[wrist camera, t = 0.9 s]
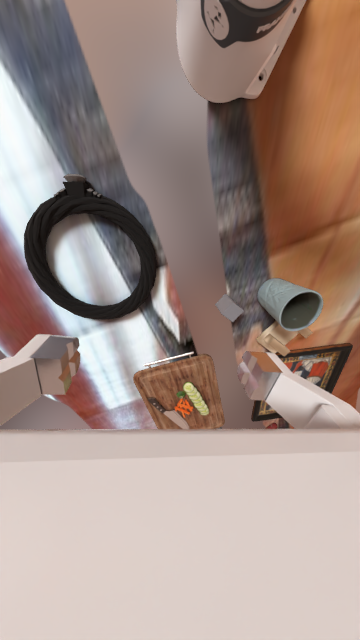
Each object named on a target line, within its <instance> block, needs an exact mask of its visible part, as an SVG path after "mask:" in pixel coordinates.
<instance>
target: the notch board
mask: <svg viewBox="0 0 360 640" xmlns="http://www.w3.org/2000/svg"><path fill="white" fill-rule="evenodd" d="M298 333H300V334H301V335H302V336H303V337H305V338H307V337H308V336H309V335H311V334H312V333H313V332H312V331H310V330H309V329H308V328H307V327H306V328H304V329H302V330H299V331H288V330H285V329H283V328H282V327H281V326H280V324H279V323H278V322H277V321H275V322H274V323H273V324H272V325H271V326H270V327H268V328H267V329H266V330H265V331H264V332H263V333H262V334H261V335H260V336H259V337H258V338H257V339H256V340H257V341H258V342H259V343H260V344H261V345H262V346H264V347H265V348H267V349H268V350H269V351H271V352H272V353H274V354H275V353H276V352H277V351H278V352H279V353H280V354H282V355H283V356H285V355H287V354H288V353H289V352H290V350H289V349H288V348H287V347H286V346H285V345H286V344H287V343H288V342H289V341H290V340H291V339H293V338H294V337H295V336H296V335H297V334H298Z"/></svg>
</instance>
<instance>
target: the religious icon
mask: <svg viewBox="0 0 360 640" xmlns="http://www.w3.org/2000/svg"><path fill="white" fill-rule="evenodd" d="M352 347H353V345H352V344H350V343H344V344H337V345H329V346H320V347H313V348H305V349H297V350H290V352H289V353H288V354H287V355H285V356H283V355H282V354H280V353H279V352H276V353H275V354H276V355H277V356H278V358H279V359H280V360H281V361H282V362H283V363H284V364H285V365H286V366H287V367H288V369H289V370H290V371H291V372H292V373H293V374H297V375H299V376H300V377H302V378H304V379H306V380H307V381H309V382H311V383H313V384H314V385H316V386H318V387H320V388H321V389H323V390H325V391H327V392H328V393H330V394H331V393H332V391H333V389H334V387H335V385H336V382H337V380H338V378H339V376H340V374H341V371H342V369H343V367H344V365H345V363H346V361H347V359H348V356H349V354H350V352H351V350H352ZM275 418H282V416H281V415H280V414H278V413H277V412H276V411H275V410H274V409H273V408H272V407H271V406H270V405H269V404H268V403H267V402H265V401H263V400H255V401H254V406H253V411H252V418H251V419H252V421H262V420H268V419H275Z"/></svg>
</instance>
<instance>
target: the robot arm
mask: <svg viewBox="0 0 360 640" xmlns="http://www.w3.org/2000/svg"><path fill="white" fill-rule="evenodd" d="M176 2H177V47H178V53H179V58H180V62H181V65H182V68H183V71H184V73H185V76H186V78H187V80H188V81H189V83H190V85H191V86H192V87H193V89H194V90H195V91H196V92H197V93H198V94H199V95H200V96H202V97H203V98H204V99H206V100H208V101H211V102H215V103H225V102H229V101H231V100H234V99H236V98H240V97H243V98H247V99H255V98H257V97H258V96H259V95H260V93H261V92H262V90H263V88H264V86H265V84H266V82H267V80H268V78H269V76H270V74H271V72H272V70H273V68H274V66H275V64H276V61H277V59H278V57H279V55H280V53H281V51H282V49H283V47H284V45H285V43H286V41H287V39H288V37H289V35H290V33H291V31H292V29H293V27H294V25H295V23H296V21H297V18H298V16H299V14H300V12H301V10H302V8H303V6H304V4H305V2H306V0H176ZM259 76H261V79H262V80H261V81H260V80H259ZM78 347H79V339H78V338H77V337H67V336H57V335H47V334H38V335H36V336H35V337H34V338H33V339H32V340H31V341H30V342H29V343H28V344H27V345H26V346H24V347H23V348H22V349H21V350H20V351H19V352H18V353H17V354H16V355H15V356H14V357H7V358H5V359H2V360H0V426H1V425H2V424H3V423H5V422H6V421H8V420H9V419H10V418H11V417H13V416H14V415H16V414H17V413H18V412H20V411H21V410H23V409H24V408H25V407H27V406H28V405H29V404H31V403H32V402H33V401H35V400H36V399H37V398H39V397H40V396H42V395H41V394H65V393H66V392H67V390H68V388H69V386H70V384H71V382H72V381H71V377H72V376H74V375H75V374H76V373H77V371H78V368H79V364H80V353H79V352H78V351H77V349H78ZM242 358H243V362H242V363H240V364H239V367H238V378H239V380H240V382H241V383H242V384H244V385H245V387H244V390H245V392H246V394H247V395H248V397H249V399H250V400H263V401H265V402H267V403H268V404H269V405H270V406H271V407H272V408H273V409H274V410H275V411H276V412H277V413H278V414H280V415H281V416H282V417H283V418H284V419H285V420H286V421H287V422H288V423H289V424H290V425H292V426H293V427H294V428H295V429H82V430H81V429H74V430H73V429H70V430H69V429H64V430H63V429H62V430H61V429H59V430H58V429H50V430H49V429H48V430H46V429H45V430H0V640H360V414H359V413H358V412H357V411H356V410H355V409H354V408H353V407H352V406H351V405H349V404H348V403H346V402H344V401H342V400H341V399H339V398H337V397H335V396H334V395H332V394H330V393H328V392H327V391H325V390H323V389H321V388H320V387H318V386H316V385H314V384H313V383H311V382H309V381H307V380H306V379H304V378H302V377H300V376H299V375H297V374H293V373H292V372H291V371H290V370H289V369H288V367H287V366H286V365H285V364H284V363H283V362H282V361H281V360H280V359H279V358H278V356H277V355H276V354H274V353H269V352H249V351H246V352H245V353H244V354H243V357H242Z"/></svg>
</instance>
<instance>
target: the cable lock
mask: <svg viewBox="0 0 360 640" xmlns="http://www.w3.org/2000/svg"><path fill="white" fill-rule="evenodd" d="M64 178H65V179H66V180H67V181H68V182H63V184H64V186H65V188H66V189H65V188H64V189H61V190H60V191H59V192H57V193H56V194H55V195H54V197H53V198H50V199H49V200H47V201H45V202H44V203H42V204H40V206H39V207H38V209H37V210H36V212H34V213H33V215H32V217H31V218H30V220H29V222H28V223H27V227H26V230H25V233H24V251H25V258H26V262H27V265H28V269H29V270H30V272H31V273H32V276H33V278H34V279H35V281H36V283H37V284H38V286H39V287H40V289H41V290H42V291H43V292H45V293H46V294H47V295H48V296H49V297H50V298H51V299H52V300H53V301H54V302H55V303H56V304H57V305H59V306H61V307H63V308H64V309H66V310H68V311H70V312H72V313H73V314H75V315H78V316H81V317H84V318H91V319H115V318H120V317H122V316H124V315H126V314H129V313H131V312H133V311H135V310H136V309H137V308H138V307H139V306H140V305H141V304H142V303H144V301H145V300H146V299H147V298H148V296H149V294H150V292H151V290H152V288H153V286H154V282H155V278H156V265H157V262H156V257H155V252H154V249H153V246H152V243H151V241H150V238H149V237H148V235H147V233H146V232H145V230H144V228H143V226H142V225H141V224H140V223H139V221H138V220H137V219H136V218H135V217H134V216H133V215H132V214H131V213H130V212H129V211H128V210H126V209H125V208H124V207H123V206H121V205H120V204H118V203H116V202H115V201H113V200H111V199H109V198H107V197H104V196H103V195H102V194H99V193H98V192H95V190H93V189H89V185H88V184H86V183H85V180H86V178H85V177H84V176H82V175H78V174H67V175H66V176H64ZM81 213H88V214H97V215H100V216H102V217H104V218H106V219H109V220H110V221H112V222H114V223H116V224H118V225H119V226H120V227H121V228H122V229H123V230H124V231H125V233H126V234H127V235H128V236H129V237H130V238H131V239H132V240H133V242H134V244H135V247H136V249H137V251H138V254H139V256H140V262H141V276H140V279H139V283H138V286H137V287H136V289H135V290H134V291H133V293H132V294H131V295H130V297H128V298H126V299H125V300H123V301H122V302H120V303H117V304H114V305H108V306H98V305H91V304H87V303H84V302H82V301H80V300H78V299H75V298H74V297H72V296H71V295H70V294H68V293H67V292H66V291H65V290H64V289H63V288H62V287H60V286H59V284H58V283H57V281H56V280H55V279H54V277H53V275H52V273H51V272H50V270H49V267H48V264H47V260H46V253H45V246H46V242H47V238H48V236H49V233H50V231H51V229H52V227H53V226H54V225H55V224H56V223H58V222H59V221H61V220H62V219H64V218H65V217H66V216H69V215H72V214H81Z"/></svg>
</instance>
